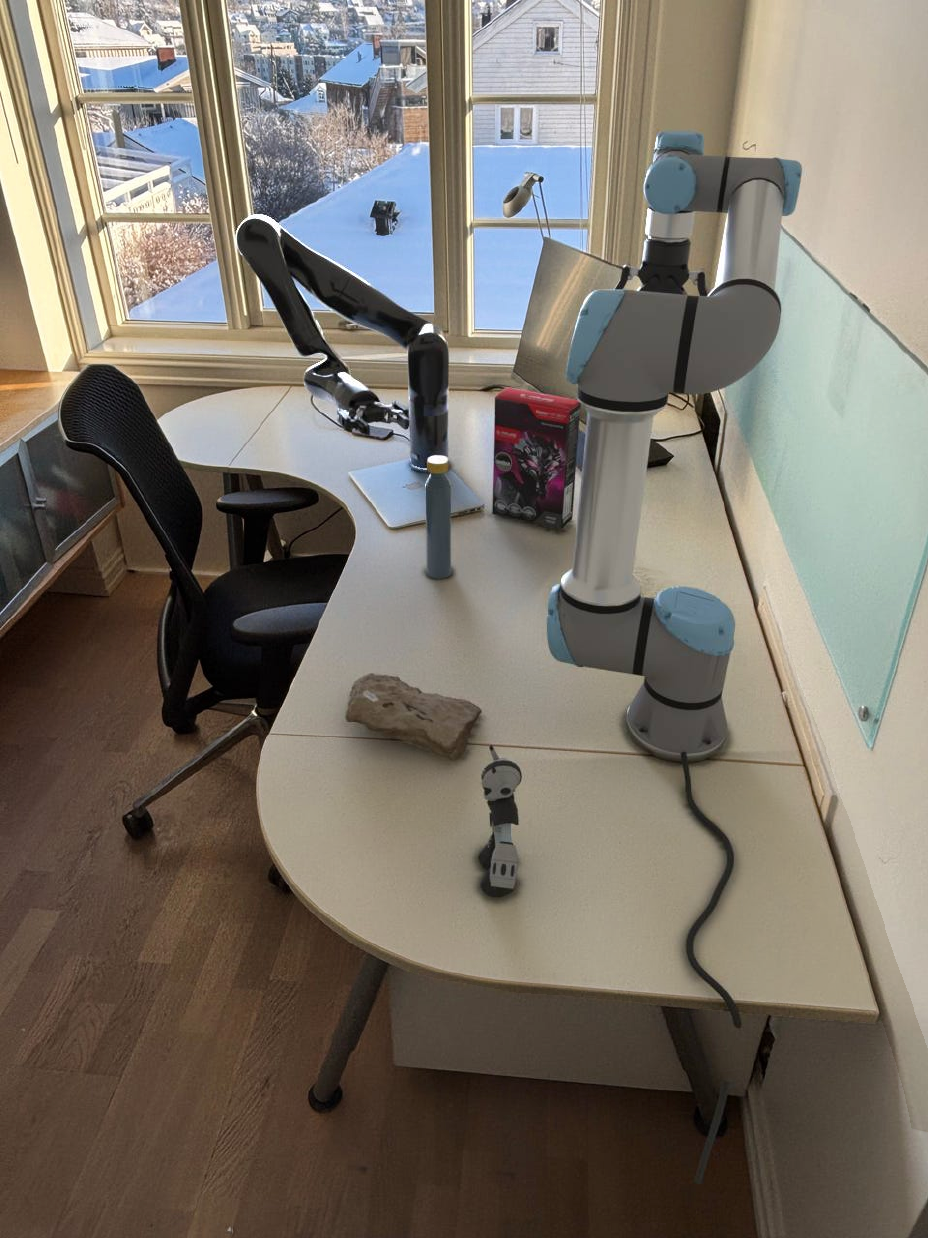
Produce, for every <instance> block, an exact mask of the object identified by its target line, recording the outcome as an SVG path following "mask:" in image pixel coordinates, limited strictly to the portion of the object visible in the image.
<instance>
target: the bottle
mask: <svg viewBox="0 0 928 1238" xmlns="http://www.w3.org/2000/svg"><path fill="white" fill-rule="evenodd" d="M424 490H425V491H424V499H425V500H424V502H425V559H426V561H425V563H426V575H427V576H428V577H430V578H431V579H432V578H433V579H441V580H442V579H445V578H448V577H450V575H451V574H452V484H451V481H450V479H449V477H448V476H447V474H446V472H445V473H440V474H436V473H429V475H428V477H427V479H426V481H425V484H424Z"/></svg>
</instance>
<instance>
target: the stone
mask: <svg viewBox="0 0 928 1238" xmlns="http://www.w3.org/2000/svg"><path fill="white" fill-rule="evenodd" d="M349 697H350V698H349V701H348V704H347V706H348V707H347V709H346V712H345V717H344V718H345V721H346V722H347V723H349V724H350V723H359V724H361V725H364V726H365V727H366V729H367V730H368V731H370V732H372V733H377V734H382V736H383V737H387V738H390V739H391V738H392V739H398V740H399V741H401V742H404V743H406V744H410V745H413V746H416V747H418V748H420V749H422V750H424V751H426V752H428V753H437V754H440V755H442V756H444V757H445V758H447V759H449V760H452V761H456V760H458V759H460V758H462V756H463V755H464V752H465V750H466V748H467V745H468V744H469V736H470V734H471V732H472V730H473V728H474V726H475V723H476V722H477V720H478V718H479V716H480V715H481V714H482V711H483V709H482V708H481V707H480V706H478V705H476V704H475V703H473V702H472V701H470V700H466V699H464V698H456V697H449V696H444V695H441V694H439V693H429V692H423V691H422V690H421V689H420V688H419V687H417V686H415V687H414V686H410V685H409V684H408V683H407V682H406V681H403V680H401V677H399V676H394V675H389V674H379V673H377V674H376V673H374V672H373V673H372V672H370V673H368V674H366V675H363V676H362V677H359V678H358V679H356V680H355V681H354V682H353V684H352V685H351V690H350V692H349Z"/></svg>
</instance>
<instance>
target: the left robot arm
mask: <svg viewBox="0 0 928 1238" xmlns="http://www.w3.org/2000/svg"><path fill="white" fill-rule="evenodd" d="M235 244H236V248H237V250H238V252H239V253H240V255H241V256H242V257H243V258H244V260H245V261H246V263H247V265H248V266H249V267H250V268H251V270H252V271H253V273H254V275H256V277H257V278H258V279H259V281H260V283H261V285H262V286H263V287H264V290H265V291H266V293H267V295H268V296H269V298H270V300H271V302H272V304H273V306H274V308H275V311H276V312H277V314H278V316H279V318H280V320H281V322H282V325H283V326H284V327H283V328H284V329H285V331H286V333H287V334H288V337H289V339H290V341H291V343H292V345H293V347H294V349H295V351H296V352H297V354H298V355H299V357H301V358H308V357H312V356H315V355H322V356H323V357H324V359H322V361H320V362H318V363H316V364H314V365H312V366H310V367H308V368H307V369H306V370H305V372H304V374H303V379H302V380H303V381H302V382H303V385H304V388H305V389H306V391H308V393H309V394H310V395H311V396H312V397H314V398H316V399H317V400H320V401H323V402H328V403H333V405H334V406H336V408H337V409H336V420H337V423H338V424H339V425H340V426H341V427H342V428H343V429H344V430H345V431H347V432H348V431H349V432H350V431H351V430H352V429H354V431H357V432H359V433H360V434H362V435H364V436H365V437H368V436H370V435H371V427H370V424H372V423H383V424H387V425H390V424H391V423H394V424H397V425H398V426H399V427H400V428H401V429H403V430H405V431H406V430H409V456H410V460H409V466H410V468H411V469H412V470H413V471H416V472H420V473H424V474H425V473H426V474H431V472H429V471H428V470H423V469H418V468H415V467H413V466H412V465H411V464H410V462H411V463H412V464H413V465H414V466H417V467H420V468H427V459H428V458H429V457H431V456H435V455H441V456H445V457H447V458H448V460H449V389H450V388H449V387H450V350H449V343H448V342H449V341H448V338H447V335H446V333H445V332H444V330H443V329H442V328H441V327H439V326H438V325H436V324H434V322H431V321H429V320H427V319H425V318H422V317H421V316H419V315H417V314H415V313H413V312H412V311H409V310H407V309H405V308H404V307H402V306H400V305H399V304H398V303H396V302H395V301H393V300H392V299H391V298H389V296H387V295H386V294H384V293H383V292H382V291H380V290H379V289H377V288H376V287H374V286H373V285H371V284H370V282H369V283H368V282H367V281H366V280H364V279H363V278H362V277H360V276H358V275H357V274H355V273H354V272H352V271H350V270H348V269H347V268H345V267H344V266H342V265H340V264H339V263H337V262H335V261H333V260H332V259H330V258H328V257H326V256H324V255H322V254H320V253H319V252H317V251H315V250H313V249H311V248H310V247H308V246H307V245H305V244H304V243H302V242H301V241H300V240H299V239H297V238H296V237H294V236H293V235H292V234H290V233H289V232H288V231H287V230H286V229H285V228H283V227H282V226H281V225H279V223H278V222H276V221H275V220H274V219H272V217H269V216H267V215H264V214H253V215H250V216H248V217H247V218H245V219H244V220H243V221H242V222H241V223H240V225H239V226H238V228H237V230H236V234H235ZM296 283H298V284H299V285H300V286H301V287H302V288H303V289H304V290H305V291H306V292H307V293H309V294H310V295H311V296H312V297H313V298H314V299H316V301H318V302H319V303H320V304H321V305H322V306H324V307H325V308H327V309H328V310H330V311H331V312H333V313H334V314H336V315H338V316H339V317H341V318H343V319H344V320H346V321H348V322H350V323H351V324H353V325H357V326H358V327H362V328H364V329H365V328H366V329H369V330H371V331H375V332H377V333H379V334H382V335H383V336H386V337H388V338H389V339H390V340H392V341H393V342H395V343H396V344H397V345H399V346H401V347H402V348H403V349H404V350H406V352H407V379H408V380H407V383H408V384H407V385H408V386H407V388H408V389H407V391H408V403H407V406H406V405H404V404H403V403H401V402H399V401H398V400H392V401H391V404H386V403H384V402H381V400H380V399H379V396H378V395H377V394H376V393H375V392H374V391H372V390H371V389H370V388H369V387H367V386H366V385H365V384H364V383H362V382H360V381H358V380H357V379H355V377H353V376H352V375H351V369H350V367H349V365H348V364H347V362H345V360H343V358H342V357H341V356H340V355H339V354H338V353H337V351H336V350H335V349H334V348H333V346H332V345H331V344H330V343H329V341H328V339H327V338H326V336H325V334H324V333H323V330H322V328H321V326H320V324H319V322H318V320H317V318H316V316H315V314H314V312H313V310H312V308H311V307H310V305H309V304H308V302H307V300H306V299H305V297H304V295H303V294H302V292H301V291H300V289H299V288H298V286H297V284H296ZM394 416H395V417H394ZM386 417H387V418H386ZM449 461H450V460H449Z"/></svg>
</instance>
